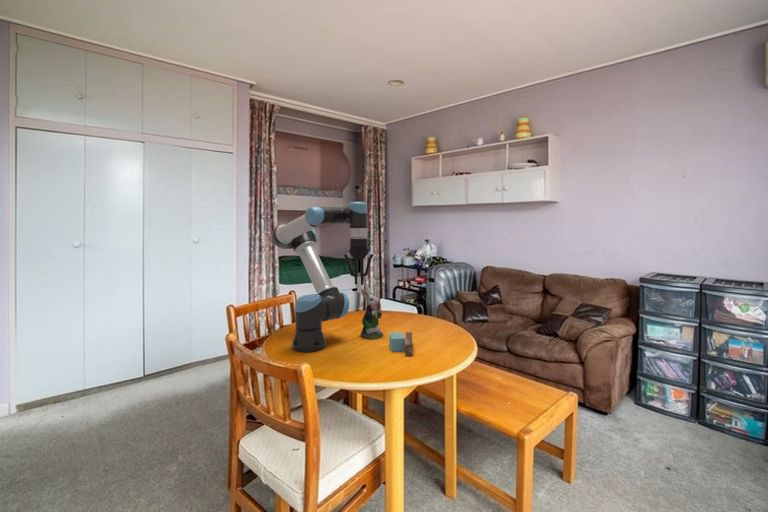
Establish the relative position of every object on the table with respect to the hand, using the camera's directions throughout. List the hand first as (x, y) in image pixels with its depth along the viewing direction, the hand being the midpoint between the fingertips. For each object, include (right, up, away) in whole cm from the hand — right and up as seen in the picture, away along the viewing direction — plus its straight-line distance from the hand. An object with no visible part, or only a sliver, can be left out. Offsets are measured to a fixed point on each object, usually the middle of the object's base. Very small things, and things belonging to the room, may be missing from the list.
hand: (359, 291), depth 173 cm
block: (+17, -26, +5) cm, 31 cm away
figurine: (+5, -24, +24) cm, 35 cm away
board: (+22, -26, +4) cm, 34 cm away
